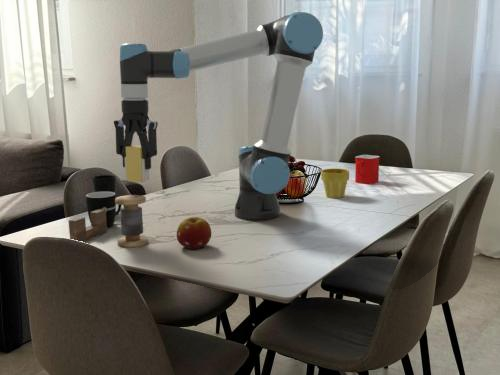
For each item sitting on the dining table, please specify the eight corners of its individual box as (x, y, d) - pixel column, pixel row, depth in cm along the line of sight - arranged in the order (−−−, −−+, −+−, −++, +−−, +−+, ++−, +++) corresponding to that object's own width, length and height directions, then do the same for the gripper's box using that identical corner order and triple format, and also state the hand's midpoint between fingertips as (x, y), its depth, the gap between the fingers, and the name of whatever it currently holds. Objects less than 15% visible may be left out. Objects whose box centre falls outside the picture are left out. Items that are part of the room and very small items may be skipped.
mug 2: (362, 179, 257) (363, 154, 255) (380, 181, 252) (381, 156, 250) (348, 183, 248) (348, 158, 246) (366, 186, 243) (367, 160, 241)
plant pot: (317, 198, 223) (317, 172, 221) (324, 192, 232) (325, 167, 230) (345, 200, 219) (345, 173, 217) (351, 194, 228) (352, 169, 226)
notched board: (107, 232, 182) (105, 209, 181) (77, 245, 170) (75, 220, 168) (100, 231, 183) (99, 208, 182) (70, 244, 170) (68, 220, 169)
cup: (111, 214, 204) (109, 179, 201) (91, 213, 205) (88, 178, 203) (121, 208, 211) (119, 175, 209) (100, 208, 213) (98, 174, 210)
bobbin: (153, 240, 173) (151, 196, 170) (137, 248, 165) (134, 202, 163) (128, 237, 176) (126, 194, 173) (111, 245, 168) (108, 200, 166)
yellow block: (148, 180, 177) (147, 146, 175) (141, 182, 174) (140, 147, 172) (133, 178, 179) (132, 145, 177) (126, 180, 176) (125, 146, 174)
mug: (100, 231, 183) (98, 198, 181) (82, 226, 189) (79, 195, 187) (130, 222, 192) (129, 191, 190) (112, 218, 198) (110, 188, 196)
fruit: (182, 253, 161) (181, 224, 159) (172, 244, 169) (171, 217, 167) (216, 248, 164) (215, 220, 163) (205, 240, 172) (204, 213, 171)
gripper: (169, 99, 172) (170, 179, 177) (116, 97, 179) (119, 175, 183) (155, 100, 165) (157, 184, 170) (100, 98, 172) (104, 179, 177)
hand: (137, 179), depth 177 cm, fingers closed on yellow block, 5 cm apart
